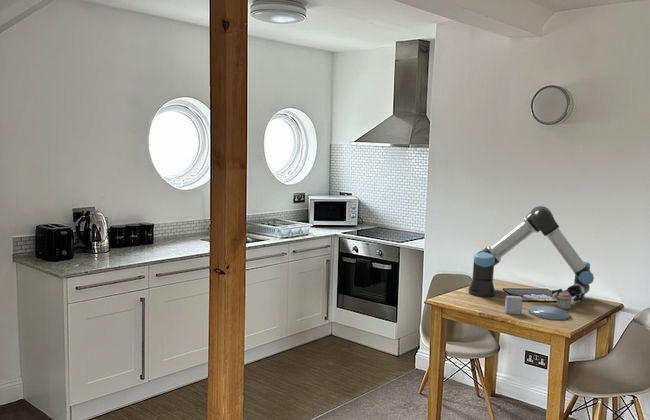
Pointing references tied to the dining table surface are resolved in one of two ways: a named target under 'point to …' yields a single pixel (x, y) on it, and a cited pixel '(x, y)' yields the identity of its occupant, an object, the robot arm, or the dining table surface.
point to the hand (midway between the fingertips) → (562, 298)
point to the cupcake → (564, 300)
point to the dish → (549, 312)
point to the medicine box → (513, 305)
